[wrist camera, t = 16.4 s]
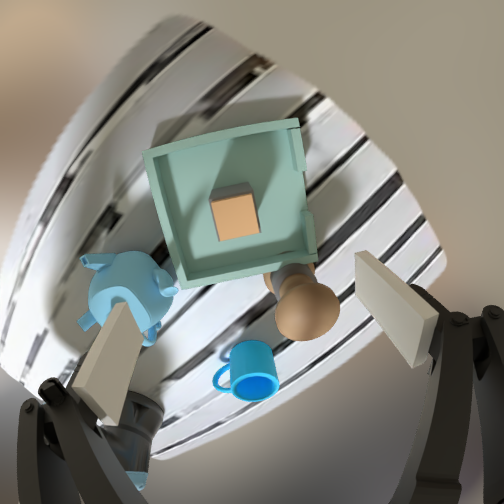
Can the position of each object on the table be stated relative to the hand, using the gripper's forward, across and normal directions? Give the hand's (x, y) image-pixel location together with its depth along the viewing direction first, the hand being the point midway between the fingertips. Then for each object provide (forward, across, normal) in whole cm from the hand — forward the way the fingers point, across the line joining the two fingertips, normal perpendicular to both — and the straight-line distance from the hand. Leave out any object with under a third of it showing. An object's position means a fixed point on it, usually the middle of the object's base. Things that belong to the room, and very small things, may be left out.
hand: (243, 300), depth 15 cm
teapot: (+26, -18, -8) cm, 32 cm away
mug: (+26, -4, -29) cm, 39 cm away
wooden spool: (+25, +6, -12) cm, 29 cm away
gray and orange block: (+24, 0, 0) cm, 24 cm away
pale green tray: (+25, 0, 0) cm, 25 cm away
